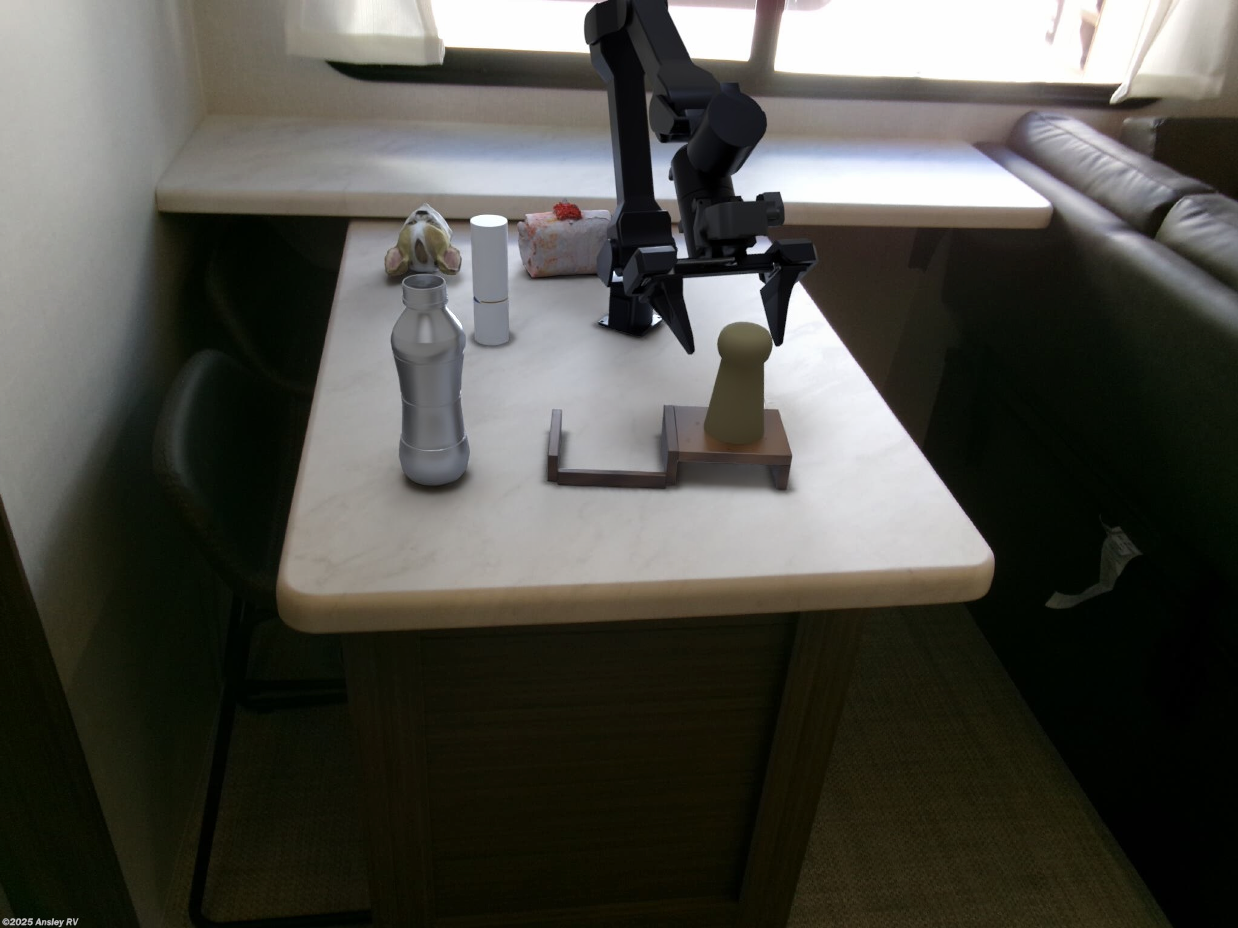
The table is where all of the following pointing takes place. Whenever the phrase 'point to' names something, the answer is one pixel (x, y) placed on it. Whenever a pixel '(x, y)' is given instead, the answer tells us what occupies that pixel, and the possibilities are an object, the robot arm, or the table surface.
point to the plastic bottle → (430, 383)
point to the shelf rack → (681, 451)
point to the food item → (562, 240)
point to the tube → (490, 279)
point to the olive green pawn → (739, 384)
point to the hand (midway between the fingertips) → (736, 349)
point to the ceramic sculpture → (424, 245)
